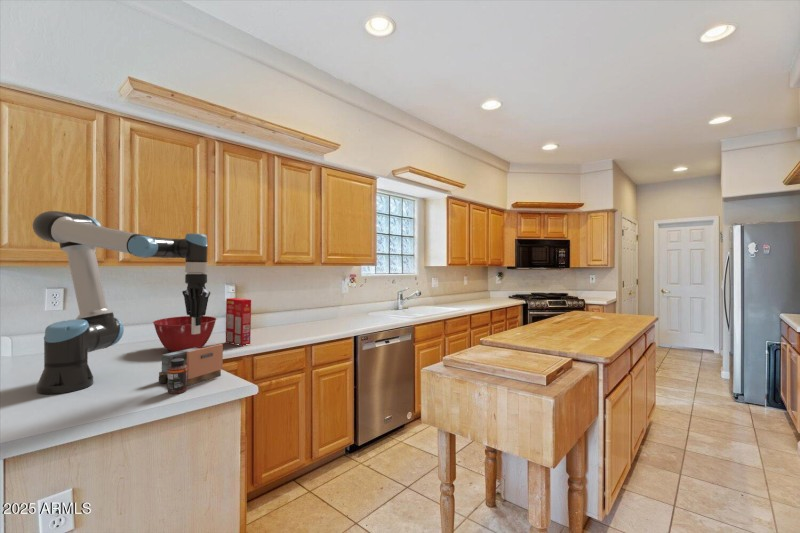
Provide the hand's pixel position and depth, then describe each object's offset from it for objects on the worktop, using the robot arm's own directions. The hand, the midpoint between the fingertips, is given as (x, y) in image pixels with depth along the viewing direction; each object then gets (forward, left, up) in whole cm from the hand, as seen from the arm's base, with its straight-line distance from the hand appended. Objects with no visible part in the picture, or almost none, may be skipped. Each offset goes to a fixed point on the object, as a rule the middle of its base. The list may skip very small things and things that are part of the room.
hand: (195, 333), depth 147 cm
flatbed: (0, +2, -18) cm, 18 cm away
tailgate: (0, -6, -15) cm, 16 cm away
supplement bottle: (-12, -7, -18) cm, 23 cm away
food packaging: (+54, +35, -18) cm, 67 cm away
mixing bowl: (+31, +47, -18) cm, 59 cm away
